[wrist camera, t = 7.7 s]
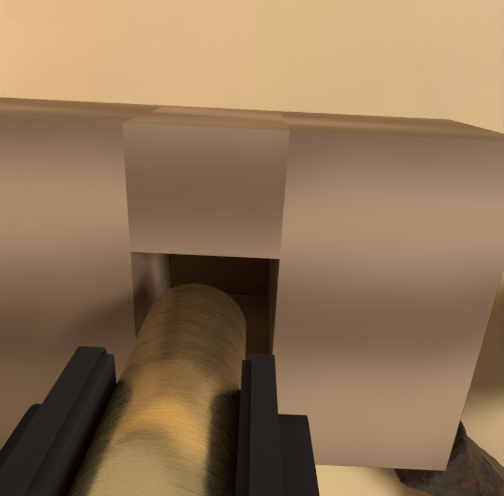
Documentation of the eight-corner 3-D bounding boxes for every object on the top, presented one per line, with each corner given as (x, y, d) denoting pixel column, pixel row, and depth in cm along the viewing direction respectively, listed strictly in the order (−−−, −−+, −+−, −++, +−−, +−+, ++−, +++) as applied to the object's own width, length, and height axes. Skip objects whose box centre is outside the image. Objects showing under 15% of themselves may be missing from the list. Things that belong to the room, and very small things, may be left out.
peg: (244, 370, 14) (218, 994, 5) (148, 367, 14) (-75, 987, 4) (248, 286, 13) (225, 889, 3) (144, 281, 13) (-171, 876, 3)
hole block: (398, 368, 22) (445, 470, 16) (37, 351, 22) (-39, 447, 16) (450, 119, 17) (540, 143, 12) (-5, 97, 17) (-130, 110, 12)
